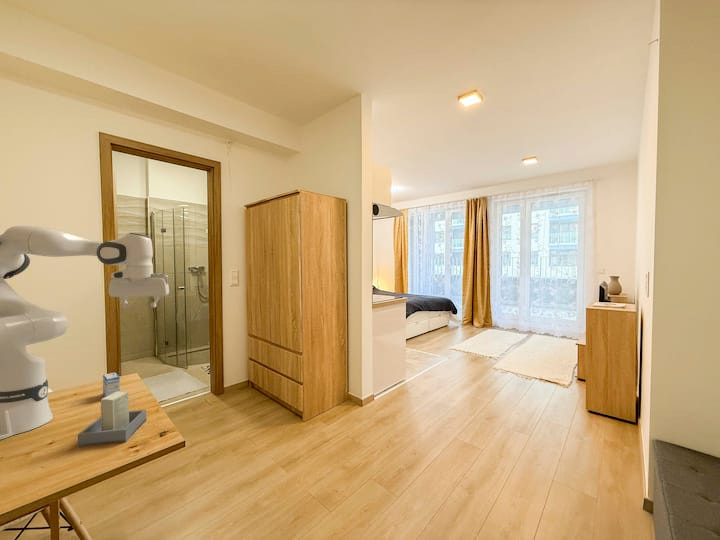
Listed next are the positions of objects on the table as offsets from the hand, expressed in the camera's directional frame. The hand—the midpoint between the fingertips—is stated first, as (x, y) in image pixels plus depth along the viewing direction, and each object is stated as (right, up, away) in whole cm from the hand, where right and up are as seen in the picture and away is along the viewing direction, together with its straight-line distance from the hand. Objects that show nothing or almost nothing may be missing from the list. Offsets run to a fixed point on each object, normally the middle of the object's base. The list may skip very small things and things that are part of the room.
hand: (140, 307), depth 118 cm
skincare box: (+7, -39, -20) cm, 45 cm away
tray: (+7, -40, -20) cm, 45 cm away
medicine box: (-18, -39, +7) cm, 44 cm away
